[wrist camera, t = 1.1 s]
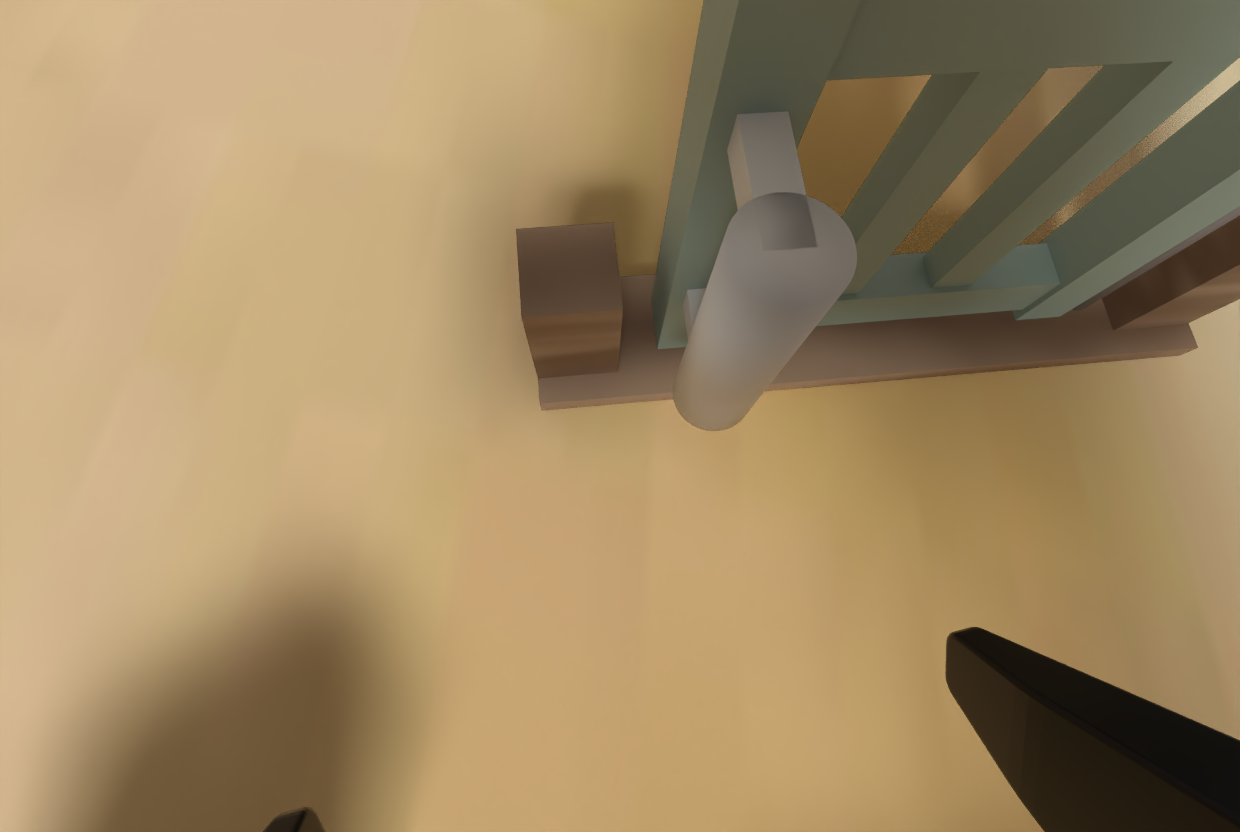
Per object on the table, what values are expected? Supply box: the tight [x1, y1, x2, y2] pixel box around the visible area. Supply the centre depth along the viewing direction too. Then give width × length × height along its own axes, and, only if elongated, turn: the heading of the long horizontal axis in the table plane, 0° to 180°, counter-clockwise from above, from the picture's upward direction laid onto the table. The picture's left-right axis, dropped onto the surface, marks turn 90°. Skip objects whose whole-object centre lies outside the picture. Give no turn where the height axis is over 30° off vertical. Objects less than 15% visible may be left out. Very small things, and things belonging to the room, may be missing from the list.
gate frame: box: [516, 216, 1240, 410], centre depth 17 cm, size 5×26×17 cm, turn 96°
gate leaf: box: [651, 0, 1240, 431], centre depth 16 cm, size 6×18×14 cm, turn 96°
